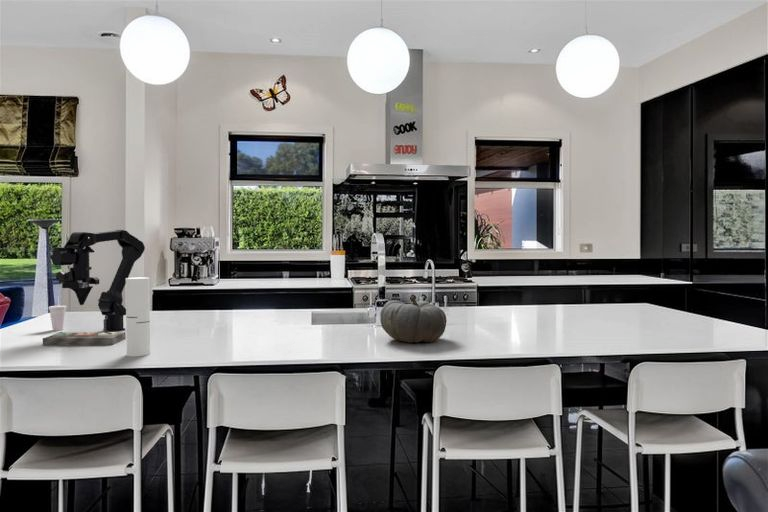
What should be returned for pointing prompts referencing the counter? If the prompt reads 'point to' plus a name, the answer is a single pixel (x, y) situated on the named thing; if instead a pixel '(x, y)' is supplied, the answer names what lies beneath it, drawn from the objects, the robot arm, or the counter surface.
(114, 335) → the tile three
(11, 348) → the counter surface
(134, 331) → the cylindrical container
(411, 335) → the gourd
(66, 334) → the tile two
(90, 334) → the tile one
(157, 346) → the counter surface
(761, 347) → the counter surface
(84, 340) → the tile board
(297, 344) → the counter surface
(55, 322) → the smoothie
